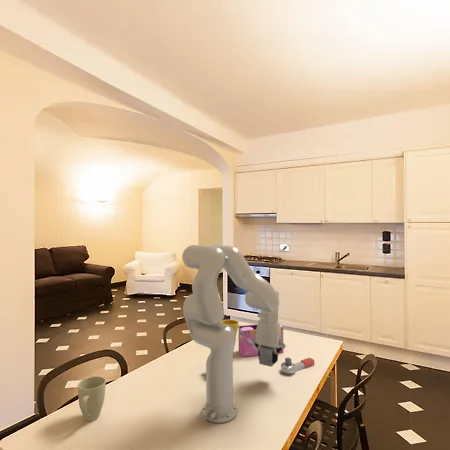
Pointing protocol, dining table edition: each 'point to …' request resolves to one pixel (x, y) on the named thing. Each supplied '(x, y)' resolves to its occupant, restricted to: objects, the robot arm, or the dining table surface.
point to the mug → (91, 397)
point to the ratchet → (295, 365)
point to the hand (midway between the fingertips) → (267, 360)
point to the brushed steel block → (266, 356)
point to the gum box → (250, 340)
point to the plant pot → (232, 324)
